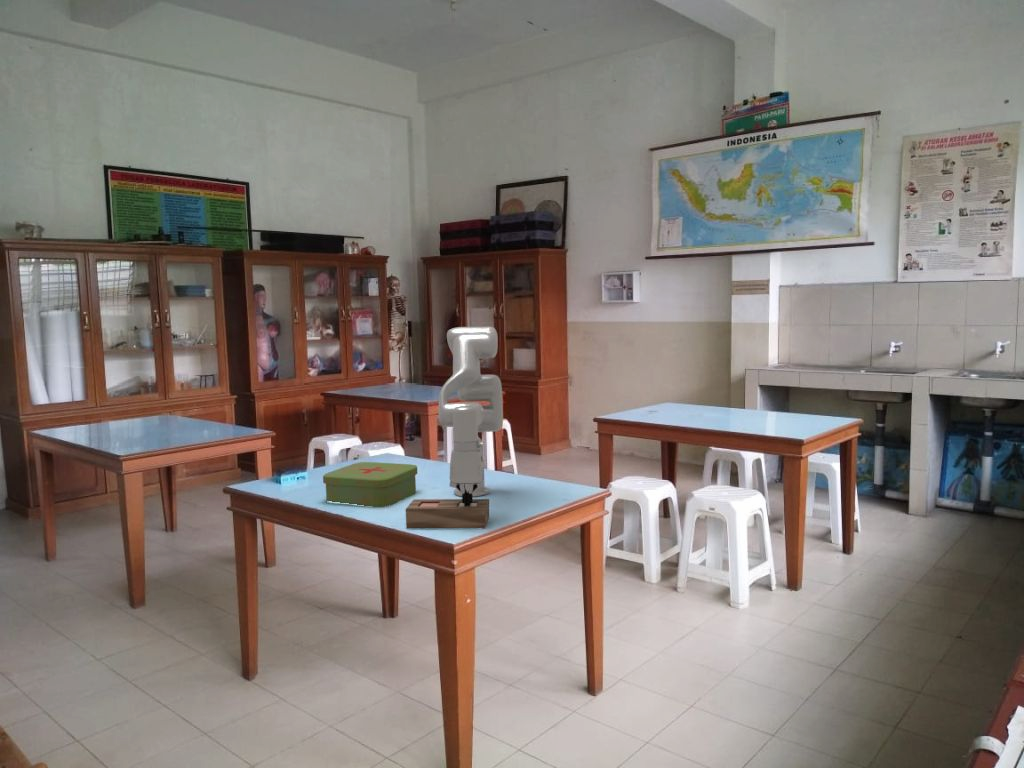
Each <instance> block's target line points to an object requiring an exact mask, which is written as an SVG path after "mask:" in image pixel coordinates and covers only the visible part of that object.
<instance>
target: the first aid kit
mask: <svg viewBox="0 0 1024 768" xmlns="http://www.w3.org/2000/svg"><path fill="white" fill-rule="evenodd" d="M417 475H418V466H417V465H416V464H410V463H409V464H408V463H393V462H391V463H390V462H377V461H376V462H370V461H365V462H364V461H362V462H356V463H352V464H349V465H346V466H344V467H340V468H338V469H335V470H331V471H328V472H326V473H325V474H323V475H322V482H323V484H324V485H325V495H326V496H325V499H326V502H327V501H332V502H340V503H349V504H357V505H364V506H363V507H365V506H373V507H372V508H386V507H390V506H392V505H394V504H397V503H398V501H399V502H400V500H401V501H402V500H405V499H407V498H409V497H411V496H413V495H415V494H416V493H417V485H416V484H417V483H416V481H417V480H416V476H417ZM396 502H397V503H396ZM389 505H390V506H389ZM385 506H386V507H385Z"/></svg>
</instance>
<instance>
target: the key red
mask: <svg viewBox="0 0 1024 768" xmlns="http://www.w3.org/2000/svg"><path fill="white" fill-rule="evenodd" d="M438 504H439V503H422V504H421V505H420V507H437V506H438Z"/></svg>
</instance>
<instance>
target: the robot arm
mask: <svg viewBox="0 0 1024 768" xmlns="http://www.w3.org/2000/svg"><path fill="white" fill-rule="evenodd" d="M498 338H499V337H498V332H497V330H496V328H495V327H493V326H458V327H453V328H451V329H448V330H447V333H446V339H447V341H446V342H447V345H448V347H449V349H450V352H451V354H452V375H451V376H450V377H449V378H448V379H447V380H446V381H445V383H444V384H443V385H442V387H441V388H440V389H441V390H440V392H439V396H438V422H439V424H440V425H441V426H443V427H447V428H452V433H453V434H452V438H453V441H452V442H453V450H451V454H450V463H449V487H450V488H455V489H454V490H453V494H454V495H455V496H458V497H462V498H461V499H462V503H464V506H470V505H471V503H473V499H474V497H481V496H485V495H488V494H489V493H490V489H489V488H488V487H487V486H485V455H484V454H485V453H484V451H485V450H484V442H483V441H482V439H481V438H480V437H479V433H489V432H490V433H491V432H499V431H501V430H502V428H503V425H504V413H503V411H504V410H503V408H504V407H503V389H502V381H501V379H500V377H499V376H498V375H496V374H481V359H495V357H496V355H497V354H498V346H499V345H498V342H499V341H498V340H499V339H498ZM455 392H456V394H457V399H458V400H459V401H461V402H448V401H449V398H450V396H451V395H453V394H454V393H455ZM478 402H488V403H489V404H482V405H481V404H480V403H478Z"/></svg>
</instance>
